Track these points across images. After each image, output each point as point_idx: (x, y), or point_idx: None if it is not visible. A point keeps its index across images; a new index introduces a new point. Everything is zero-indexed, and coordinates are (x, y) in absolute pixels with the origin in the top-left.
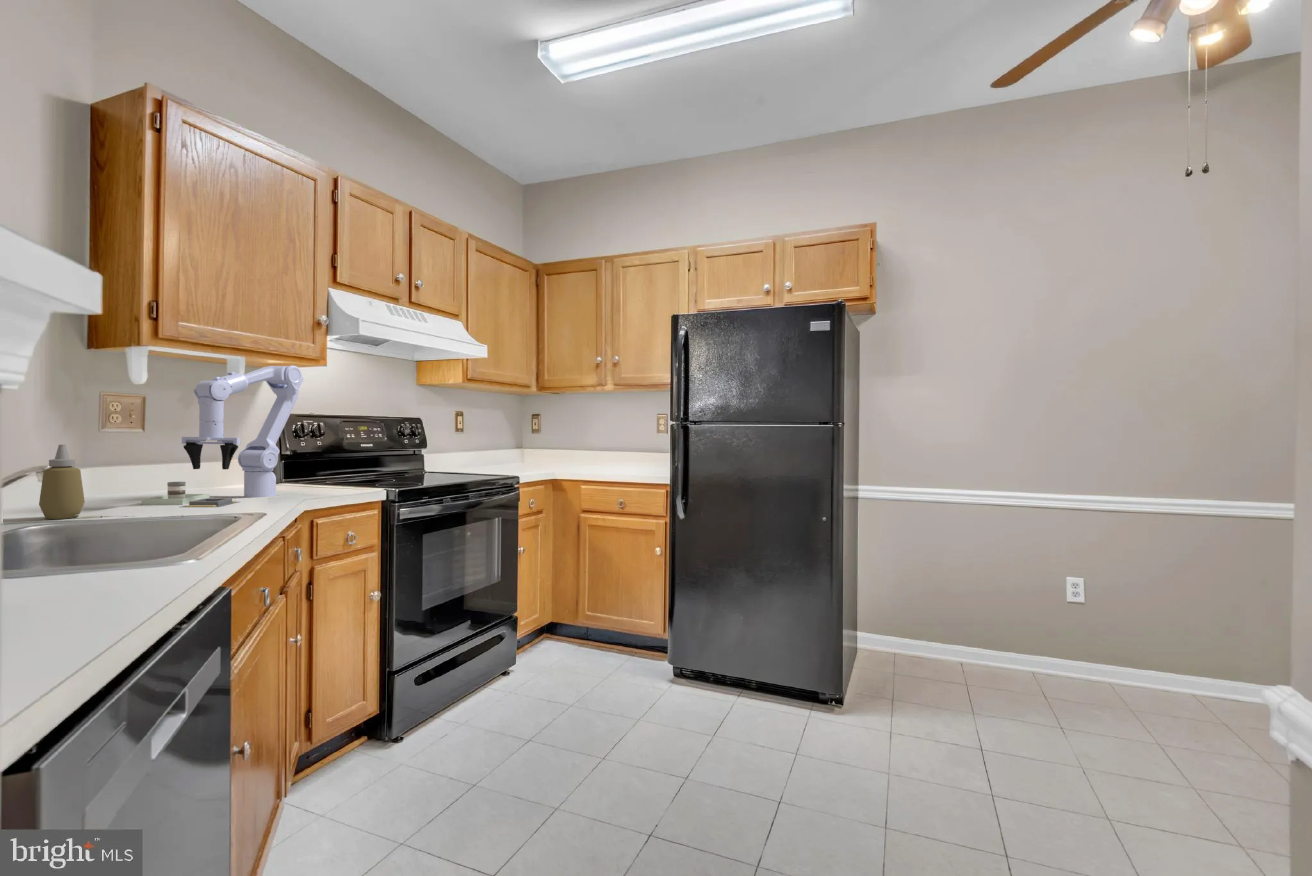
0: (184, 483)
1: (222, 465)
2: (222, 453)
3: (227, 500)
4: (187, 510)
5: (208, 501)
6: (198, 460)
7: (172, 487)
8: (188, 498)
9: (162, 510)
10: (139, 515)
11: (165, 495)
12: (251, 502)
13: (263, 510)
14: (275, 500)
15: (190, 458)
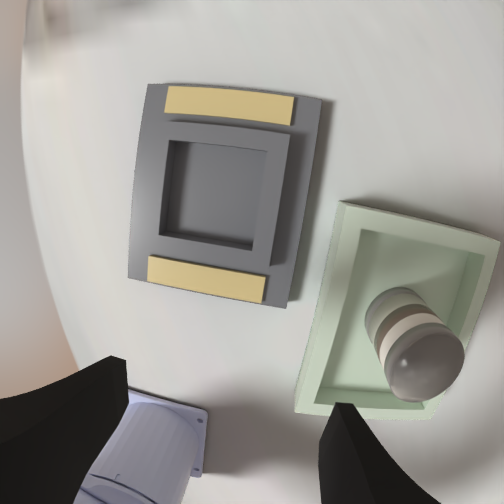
0: (389, 364)
1: (106, 370)
2: (30, 422)
3: (146, 207)
4: None
5: (198, 127)
6: (330, 486)
7: (431, 321)
8: (335, 256)
9: (391, 139)
10: (399, 10)
11: None
12: (138, 353)
13: (31, 103)
14: None
15: (392, 462)
